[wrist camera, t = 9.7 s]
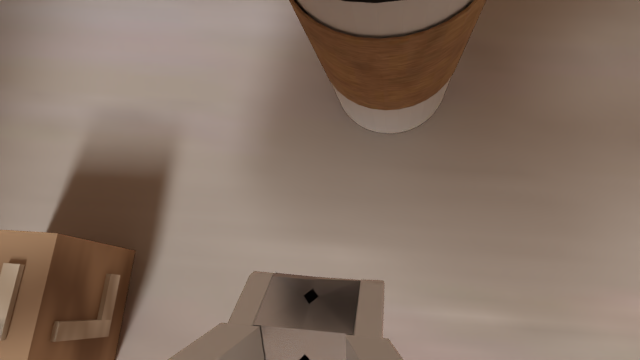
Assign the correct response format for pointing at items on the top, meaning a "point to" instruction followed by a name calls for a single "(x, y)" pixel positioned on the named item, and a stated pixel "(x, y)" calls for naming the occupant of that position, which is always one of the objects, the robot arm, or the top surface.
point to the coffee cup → (389, 54)
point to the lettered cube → (61, 296)
